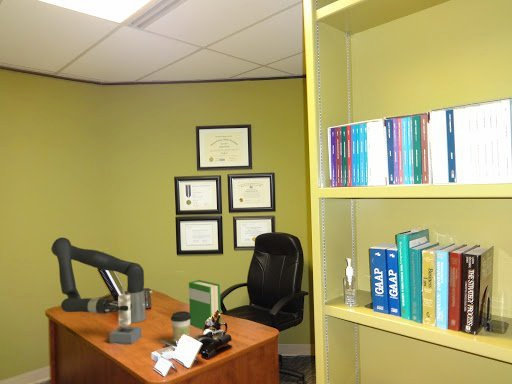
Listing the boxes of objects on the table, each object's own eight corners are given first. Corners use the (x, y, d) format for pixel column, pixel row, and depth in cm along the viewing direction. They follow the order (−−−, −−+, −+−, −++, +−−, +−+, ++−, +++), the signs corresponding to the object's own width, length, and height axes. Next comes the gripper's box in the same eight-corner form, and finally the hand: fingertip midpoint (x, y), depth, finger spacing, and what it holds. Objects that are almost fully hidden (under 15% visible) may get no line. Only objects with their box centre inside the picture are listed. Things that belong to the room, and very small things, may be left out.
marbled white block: (118, 325, 192) (118, 295, 192) (122, 323, 195) (121, 294, 195) (127, 325, 191) (127, 296, 191) (130, 323, 194) (130, 294, 194)
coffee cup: (191, 348, 181) (190, 317, 181) (170, 349, 181) (169, 318, 180) (192, 339, 191) (191, 310, 191) (173, 341, 190) (172, 311, 190)
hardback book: (221, 328, 206) (219, 284, 206) (210, 332, 201) (209, 287, 201) (200, 321, 218) (199, 279, 218) (190, 324, 213) (188, 282, 212)
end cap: (109, 343, 190) (109, 333, 190) (120, 335, 200) (120, 326, 200) (131, 344, 187) (131, 334, 187) (141, 336, 197) (141, 327, 197)
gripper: (90, 302, 189) (122, 304, 186) (107, 294, 203) (136, 296, 200) (91, 317, 189) (122, 319, 186) (107, 308, 203) (137, 310, 200)
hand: (129, 307), depth 193 cm, fingers closed on marbled white block, 3 cm apart
